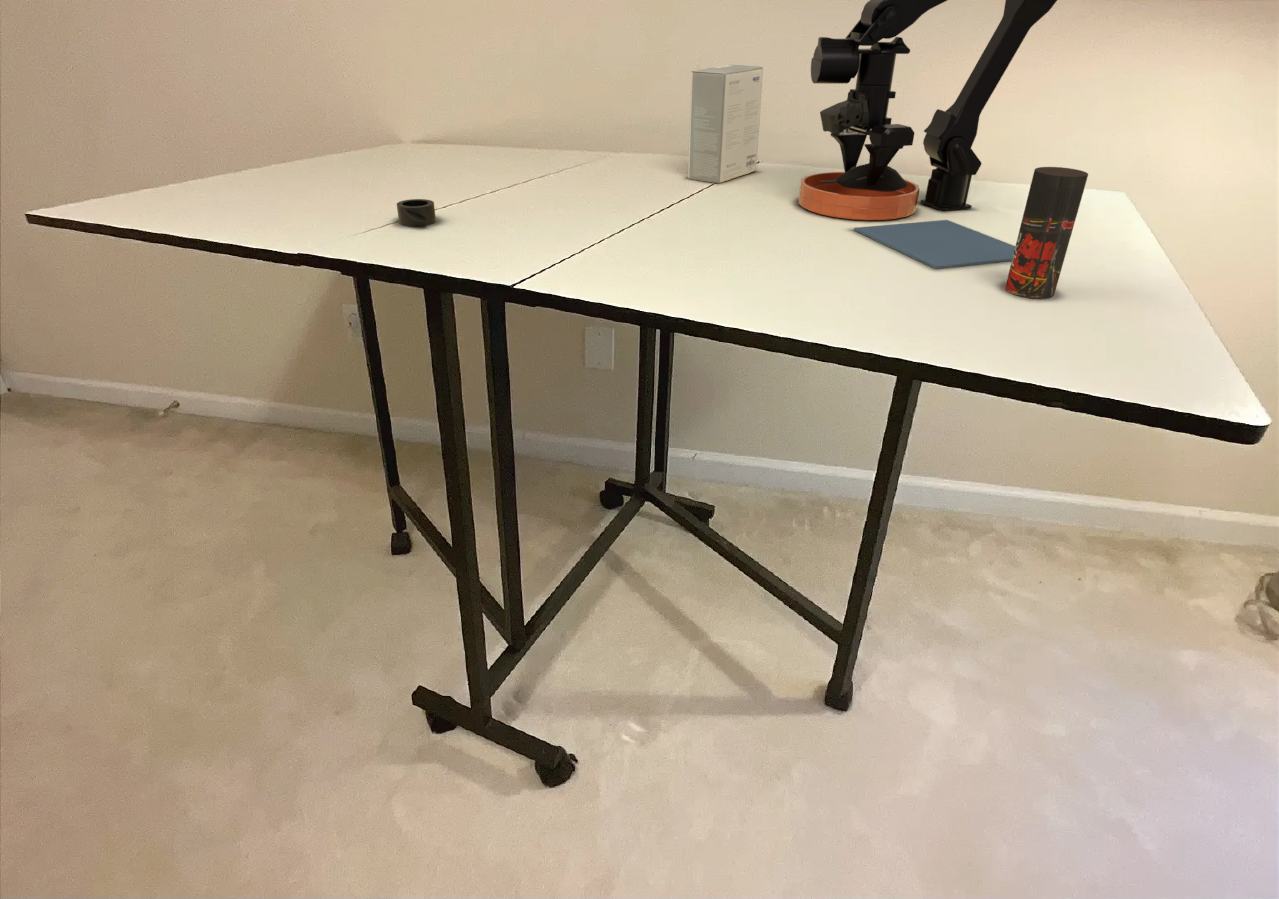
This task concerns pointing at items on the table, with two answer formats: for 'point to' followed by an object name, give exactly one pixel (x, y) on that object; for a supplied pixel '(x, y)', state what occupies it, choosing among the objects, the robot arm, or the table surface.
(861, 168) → the gaming mouse
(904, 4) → the robot arm
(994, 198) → the table surface
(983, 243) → the mouse pad
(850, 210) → the bowl
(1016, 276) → the deodorant
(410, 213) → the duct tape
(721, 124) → the hard drive box
